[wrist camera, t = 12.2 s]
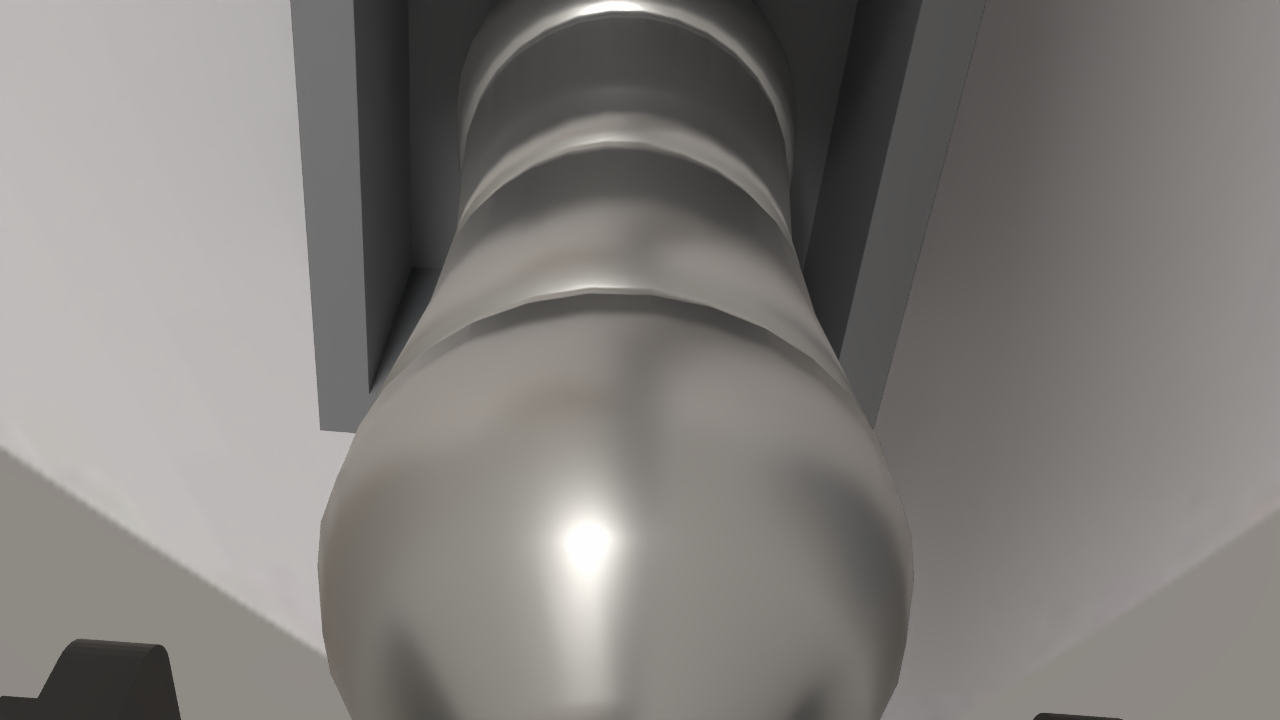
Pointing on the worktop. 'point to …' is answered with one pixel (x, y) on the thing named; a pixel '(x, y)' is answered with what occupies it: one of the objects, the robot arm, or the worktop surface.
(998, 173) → the worktop surface
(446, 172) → the storage caddy
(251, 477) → the worktop surface
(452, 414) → the plastic bottle
